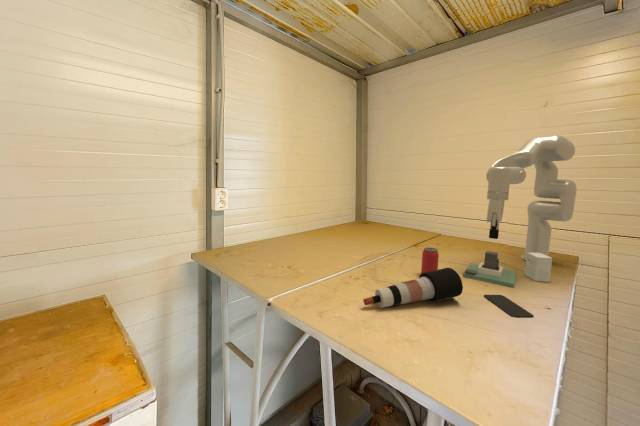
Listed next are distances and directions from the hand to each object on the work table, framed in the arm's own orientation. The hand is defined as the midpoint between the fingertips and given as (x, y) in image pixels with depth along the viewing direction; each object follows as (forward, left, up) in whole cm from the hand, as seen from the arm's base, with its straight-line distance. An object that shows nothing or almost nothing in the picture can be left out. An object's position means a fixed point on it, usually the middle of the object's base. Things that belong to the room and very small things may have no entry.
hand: (493, 238), depth 114 cm
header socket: (0, 0, -16) cm, 16 cm away
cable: (+48, -18, -18) cm, 54 cm away
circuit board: (0, 0, -17) cm, 17 cm away
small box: (-10, +16, -17) cm, 26 cm away
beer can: (+17, -21, -17) cm, 32 cm away
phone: (+29, +8, -18) cm, 35 cm away
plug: (0, 0, -16) cm, 16 cm away
